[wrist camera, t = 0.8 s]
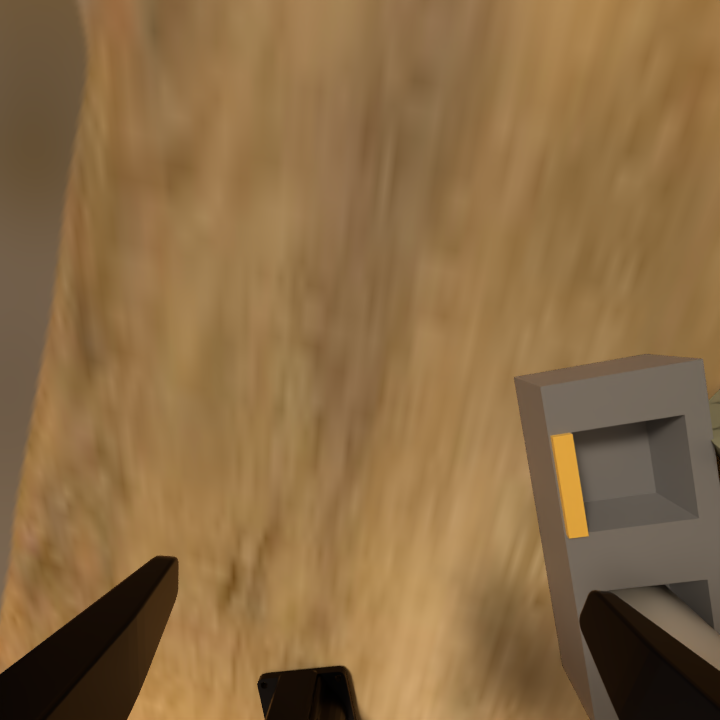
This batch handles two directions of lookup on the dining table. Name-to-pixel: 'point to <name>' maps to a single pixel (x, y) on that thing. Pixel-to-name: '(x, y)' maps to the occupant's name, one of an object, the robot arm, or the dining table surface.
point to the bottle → (674, 619)
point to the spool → (715, 421)
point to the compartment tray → (622, 492)
